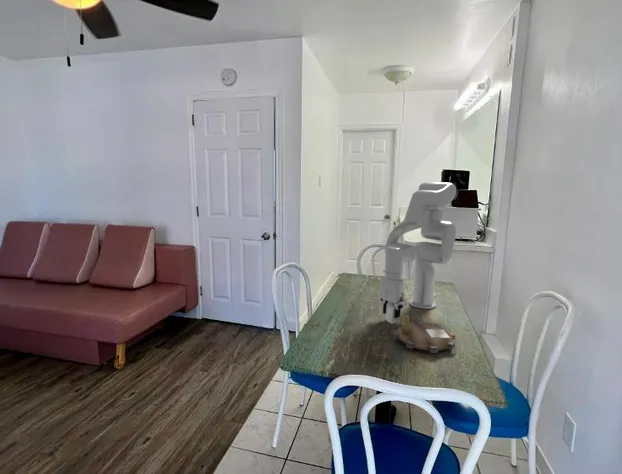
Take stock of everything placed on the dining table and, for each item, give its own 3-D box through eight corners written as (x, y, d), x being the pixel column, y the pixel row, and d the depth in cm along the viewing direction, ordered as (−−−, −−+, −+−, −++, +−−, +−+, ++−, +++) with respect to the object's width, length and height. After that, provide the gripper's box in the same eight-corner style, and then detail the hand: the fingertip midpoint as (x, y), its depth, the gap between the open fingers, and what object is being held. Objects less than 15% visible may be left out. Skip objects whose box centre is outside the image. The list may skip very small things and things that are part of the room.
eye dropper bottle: (386, 323, 151) (387, 297, 149) (385, 318, 157) (386, 292, 155) (396, 324, 151) (398, 297, 149) (395, 319, 156) (396, 293, 154)
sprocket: (401, 352, 124) (403, 329, 122) (388, 325, 146) (389, 305, 145) (466, 353, 124) (468, 329, 122) (443, 325, 146) (444, 305, 145)
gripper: (372, 272, 154) (370, 311, 157) (404, 281, 141) (402, 324, 144) (383, 269, 159) (381, 307, 162) (415, 278, 146) (413, 319, 149)
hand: (391, 314), depth 153 cm, fingers closed on eye dropper bottle, 5 cm apart
